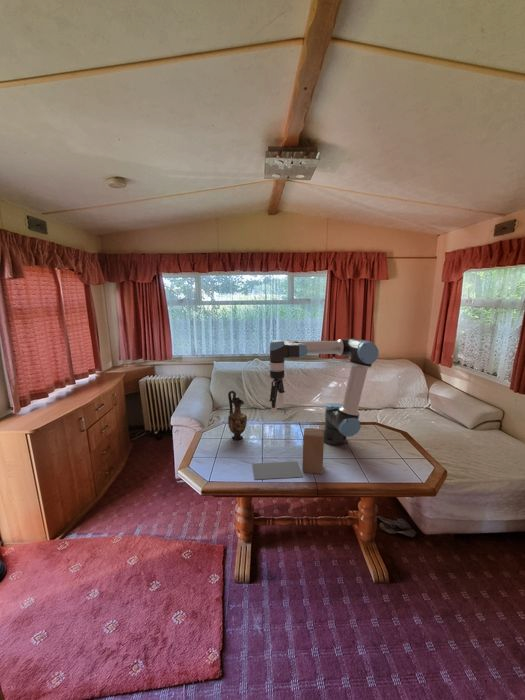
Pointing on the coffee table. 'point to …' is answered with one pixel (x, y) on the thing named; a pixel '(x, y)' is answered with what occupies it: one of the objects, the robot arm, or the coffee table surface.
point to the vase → (236, 417)
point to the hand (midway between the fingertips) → (277, 408)
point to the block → (313, 450)
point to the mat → (276, 470)
